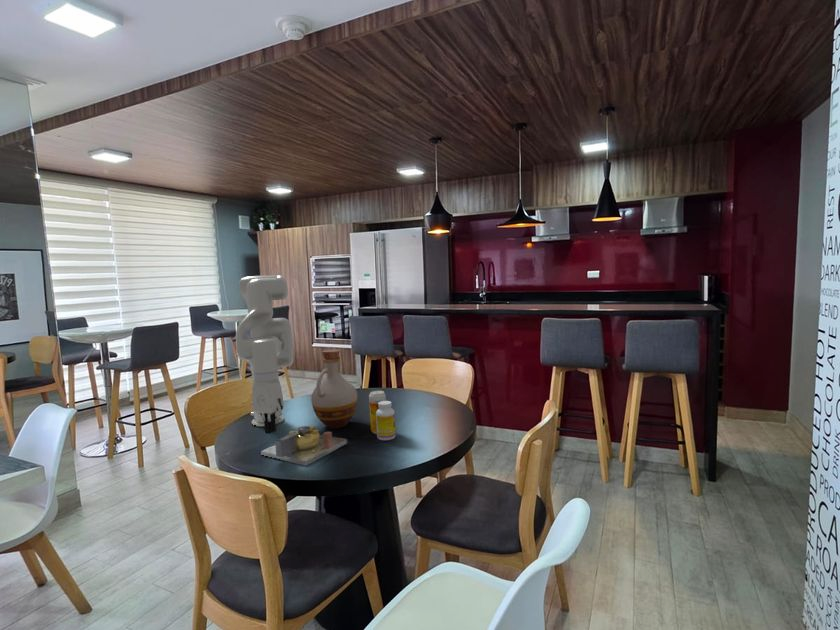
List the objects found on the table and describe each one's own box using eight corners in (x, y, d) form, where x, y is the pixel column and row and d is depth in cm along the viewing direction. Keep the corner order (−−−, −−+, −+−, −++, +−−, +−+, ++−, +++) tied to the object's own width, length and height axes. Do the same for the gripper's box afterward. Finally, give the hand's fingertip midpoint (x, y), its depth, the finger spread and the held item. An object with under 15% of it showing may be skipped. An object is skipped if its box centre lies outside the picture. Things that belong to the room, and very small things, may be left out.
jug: (341, 437, 160) (334, 356, 157) (301, 432, 167) (294, 355, 164) (367, 418, 178) (362, 346, 175) (330, 415, 185) (324, 345, 182)
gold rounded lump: (304, 436, 157) (303, 421, 156) (326, 440, 152) (325, 425, 151) (268, 454, 142) (266, 437, 142) (290, 459, 137) (289, 442, 137)
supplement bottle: (396, 440, 155) (395, 404, 154) (378, 442, 154) (376, 406, 153) (394, 433, 161) (393, 399, 160) (376, 435, 160) (374, 400, 159)
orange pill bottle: (373, 435, 160) (371, 395, 159) (368, 430, 166) (366, 391, 164) (389, 432, 162) (387, 393, 161) (384, 427, 168) (382, 389, 167)
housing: (261, 455, 146) (259, 436, 146) (304, 435, 164) (303, 418, 163) (306, 465, 136) (304, 445, 136) (346, 443, 154) (345, 425, 153)
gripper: (241, 378, 144) (245, 433, 145) (273, 380, 136) (278, 438, 138) (259, 373, 150) (263, 426, 151) (291, 376, 143) (295, 431, 144)
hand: (270, 432), depth 144 cm, fingers closed
